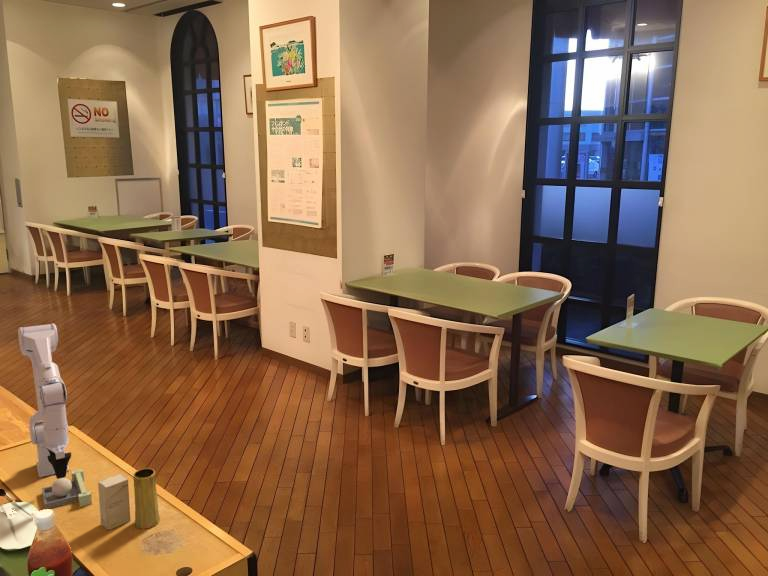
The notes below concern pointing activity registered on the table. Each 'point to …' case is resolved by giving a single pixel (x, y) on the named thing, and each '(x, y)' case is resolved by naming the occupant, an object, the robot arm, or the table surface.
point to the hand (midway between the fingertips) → (59, 471)
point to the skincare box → (114, 501)
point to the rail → (81, 488)
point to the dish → (55, 501)
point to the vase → (145, 499)
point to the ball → (61, 487)
